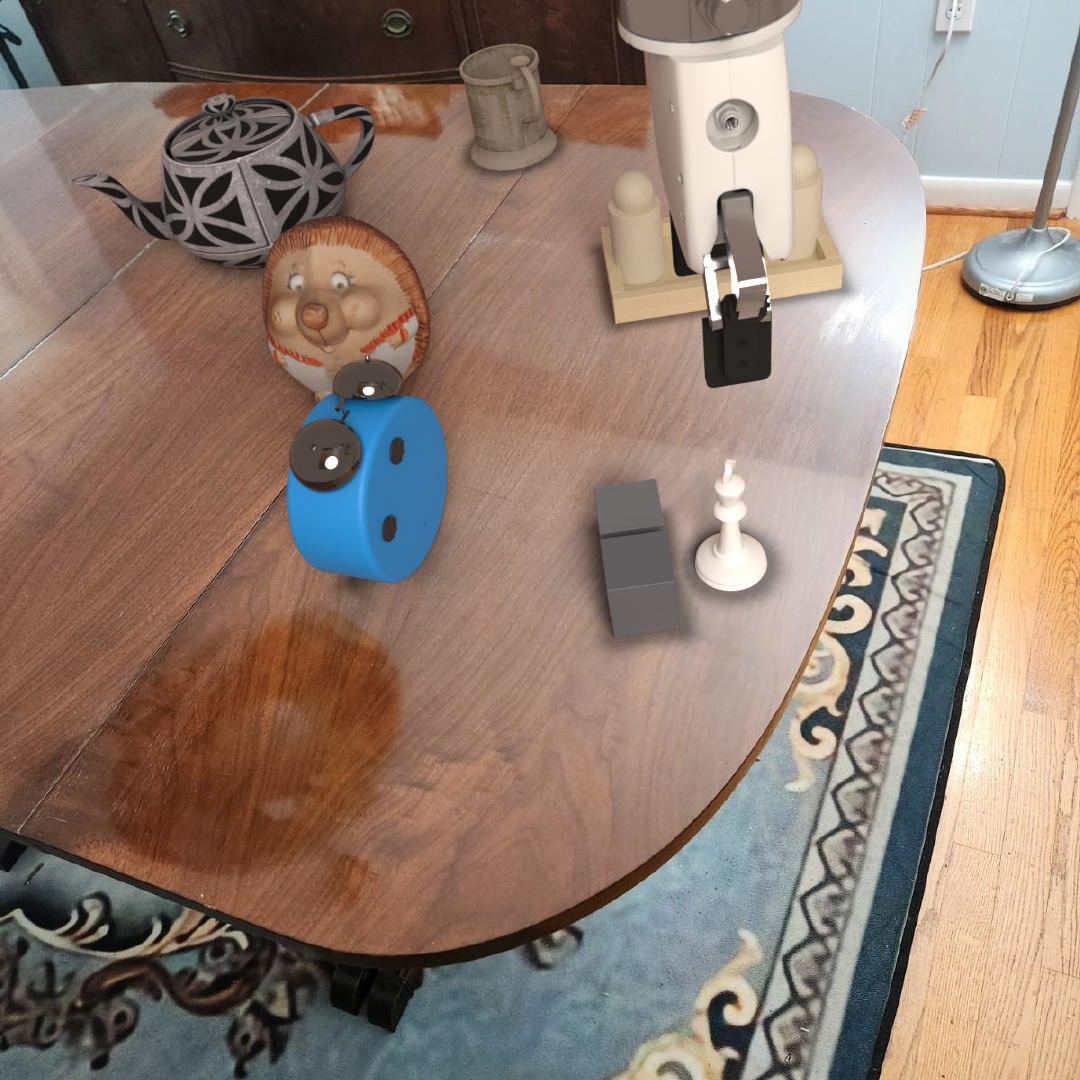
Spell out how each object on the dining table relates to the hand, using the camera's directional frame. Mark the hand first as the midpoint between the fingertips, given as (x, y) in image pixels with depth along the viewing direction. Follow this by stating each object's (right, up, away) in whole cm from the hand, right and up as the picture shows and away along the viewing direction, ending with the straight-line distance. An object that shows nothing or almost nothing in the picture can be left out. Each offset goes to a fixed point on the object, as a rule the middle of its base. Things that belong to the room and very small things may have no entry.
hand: (719, 321), depth 53 cm
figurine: (-25, +3, +37) cm, 45 cm away
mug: (-11, +31, +59) cm, 68 cm away
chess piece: (+4, -13, +17) cm, 22 cm away
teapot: (-40, +21, +56) cm, 72 cm away
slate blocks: (-3, -14, +17) cm, 22 cm away
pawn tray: (+7, +14, +40) cm, 42 cm away
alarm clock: (-20, -12, +23) cm, 33 cm away
